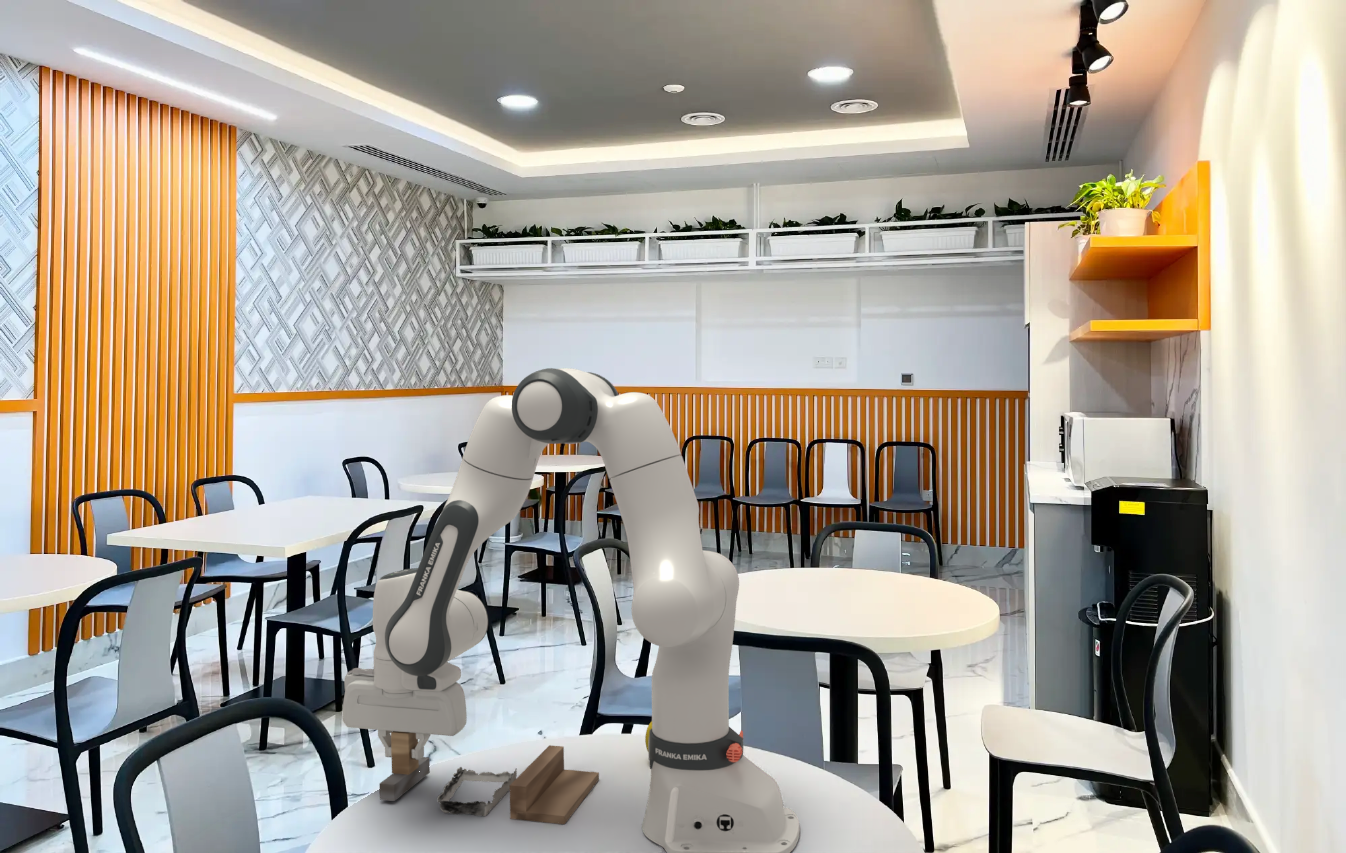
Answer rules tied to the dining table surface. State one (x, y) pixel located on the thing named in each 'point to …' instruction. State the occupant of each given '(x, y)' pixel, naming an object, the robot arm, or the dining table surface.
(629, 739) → the dining table surface
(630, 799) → the dining table surface
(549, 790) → the stop bar
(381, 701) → the robot arm
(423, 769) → the oak pusher
